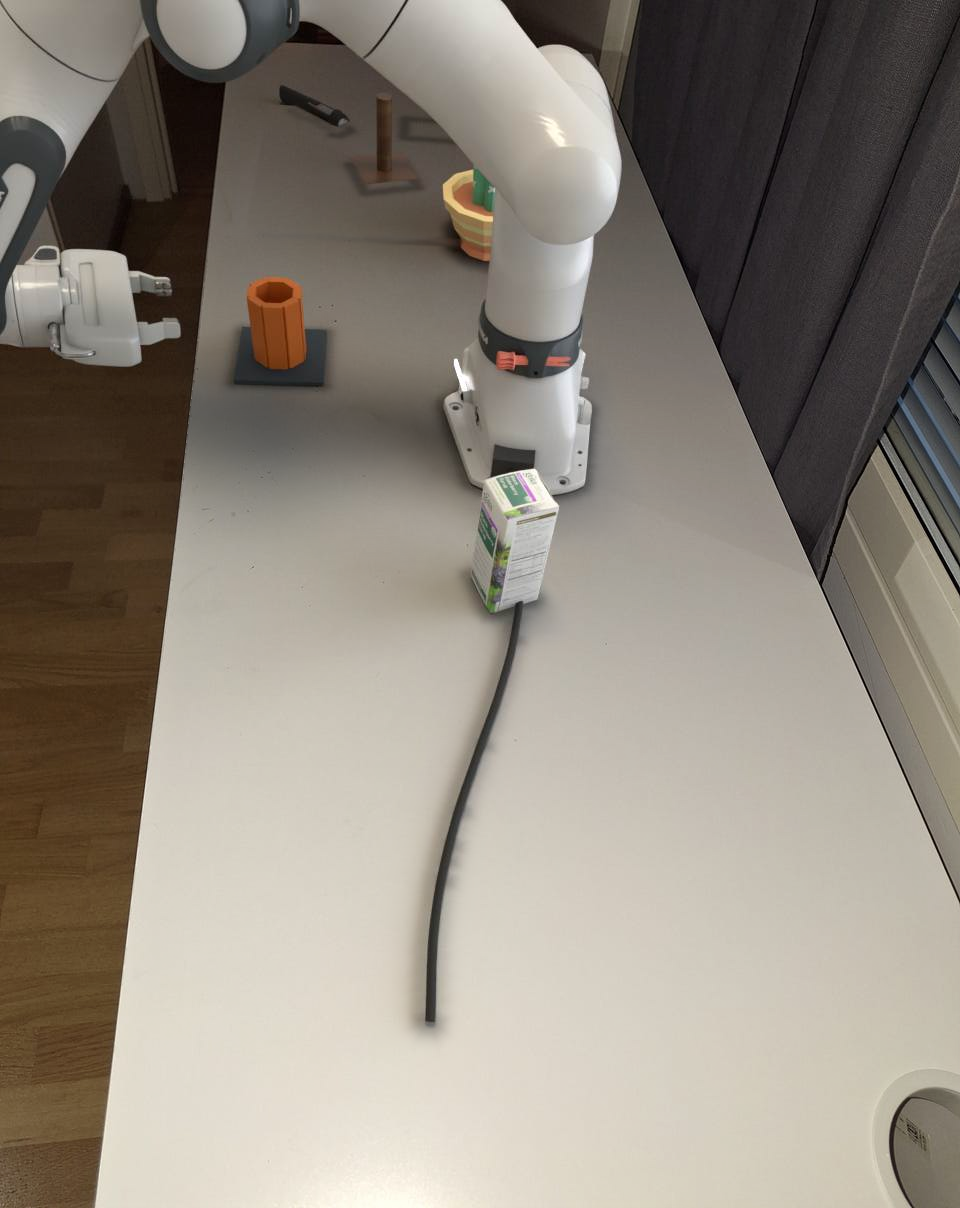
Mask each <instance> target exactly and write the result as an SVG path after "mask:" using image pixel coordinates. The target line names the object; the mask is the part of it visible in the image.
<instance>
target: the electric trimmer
mask: <svg viewBox="0 0 960 1208" xmlns="http://www.w3.org/2000/svg"><path fill="white" fill-rule="evenodd" d="M278 92H279V93H278V95H279V99H280V101H282V103H284V104H286V105H287V106H291V107H292V106H293V107H298V108H299V109H301V110H303V111H305V112H307V113H310V114H311V115H315V116H317V117H319V118H321V119H323V120H325V122H327V123H329V124H330V125H331V126H335V127H339V126H341V125H344V124H346V123H350V118H349V117H348V115H346V114H345V113H344V112H343V111H342V110H341V109H339V108H336V109H335V108H333V107H331V106H329V105H327V104H325V103H323V102H321V101H318V100H317V99H314V98H313V97H311V96H307V95H305V94H304V93H301V92H300V91H297V90H295V89H293V88H291V87H289V86H286V85H285V84H281V85H280V86H279V89H278Z"/></svg>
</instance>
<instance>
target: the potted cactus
mask: <svg viewBox="0 0 960 1208" xmlns="http://www.w3.org/2000/svg"><path fill="white" fill-rule="evenodd" d="M494 195H495V187H494V186H493V185H492V184H491V183H490V182H489V181H488V180H487V179H486V178H485V176H484V175H483V174H482V173H481V172H480V171H479V170H478V169H477V168H476V166H475V165H474V164H473V169H469V170H465V171H462V172H457V173H455V174H453V175H452V176H451V177H450V178H448V180H446V181H445V182H444V183H443V184H442V196H443V204H444V209H445V210H446V211H447V212H448V213H449V214H450V218H451V222H452V225H453V228H454V231H456V233H457V235H458V236H459V237H460V239H459V240H460V248H461V250H463V251H464V252H465V254H467V255H468V256H469V257H471V258H474V259H478V260H481V261H482V262H484V261H485V262H490V253H491V241H492V225H493V210H494Z"/></svg>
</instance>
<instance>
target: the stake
mask: <svg viewBox="0 0 960 1208" xmlns="http://www.w3.org/2000/svg"><path fill="white" fill-rule="evenodd" d="M375 97H376V104H375V105H376V106H375V107H376V154H366V155H365V154H364V155H355V156H349V158H350V160H351V162H352V164H353V165H354V168H355V169H356V171H357V172H358V175H359V176H360V178H361V179H362V182H363V184H364V185H374V184H383V183H394V182H403V181H404V182H405V181H414V180H415V181H416V180H419V179H420V178H419V176H418V175H417V173H416V171H415V170H414V168H413V167H412V165H411V164H410V162H409V161H408V159H407V157H406V156H405V154H404V153H403V151H399V152H393V95H392V94H391V93H389V92H379V93H377V94H376V96H375Z"/></svg>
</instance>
